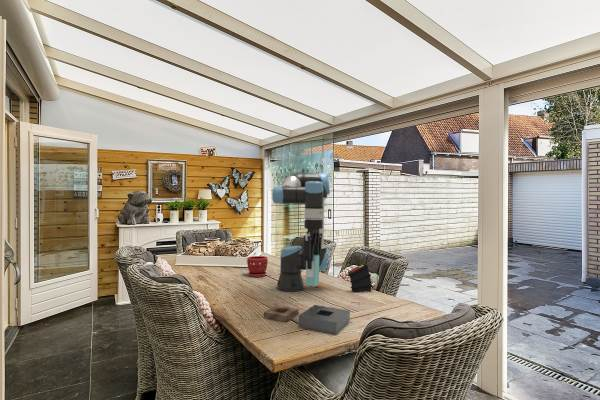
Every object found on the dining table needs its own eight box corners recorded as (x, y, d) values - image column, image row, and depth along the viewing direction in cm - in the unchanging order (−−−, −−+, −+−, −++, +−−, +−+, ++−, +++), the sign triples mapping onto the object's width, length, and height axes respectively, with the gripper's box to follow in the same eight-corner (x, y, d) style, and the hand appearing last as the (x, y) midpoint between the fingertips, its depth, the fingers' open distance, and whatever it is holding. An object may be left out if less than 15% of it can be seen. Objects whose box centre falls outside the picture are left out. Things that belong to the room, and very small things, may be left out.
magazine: (377, 288, 198) (367, 264, 196) (357, 299, 195) (346, 275, 193) (373, 286, 202) (363, 262, 200) (354, 297, 199) (344, 273, 197)
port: (298, 327, 143) (298, 315, 142) (314, 315, 157) (314, 304, 157) (336, 334, 136) (336, 322, 135) (349, 321, 150) (349, 310, 150)
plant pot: (271, 275, 233) (271, 256, 233) (258, 279, 222) (258, 259, 222) (255, 272, 240) (256, 254, 240) (242, 276, 229) (242, 257, 229)
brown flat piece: (263, 317, 152) (264, 311, 152) (276, 310, 162) (276, 305, 162) (286, 322, 148) (286, 316, 148) (298, 314, 158) (298, 308, 157)
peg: (305, 285, 147) (306, 255, 147) (310, 283, 151) (310, 254, 151) (314, 286, 145) (315, 256, 145) (318, 284, 149) (319, 255, 149)
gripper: (313, 220, 139) (311, 281, 139) (330, 218, 154) (329, 273, 154) (295, 219, 142) (294, 278, 142) (314, 217, 157) (313, 271, 157)
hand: (312, 275), depth 148 cm, fingers closed on peg, 4 cm apart
